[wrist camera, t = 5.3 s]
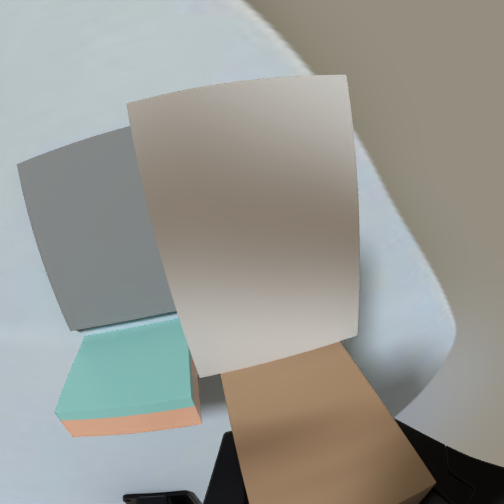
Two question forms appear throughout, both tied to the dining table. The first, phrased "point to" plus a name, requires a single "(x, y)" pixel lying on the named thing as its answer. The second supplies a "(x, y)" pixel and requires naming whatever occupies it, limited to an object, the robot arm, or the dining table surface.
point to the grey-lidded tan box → (274, 281)
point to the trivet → (96, 231)
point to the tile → (131, 383)
